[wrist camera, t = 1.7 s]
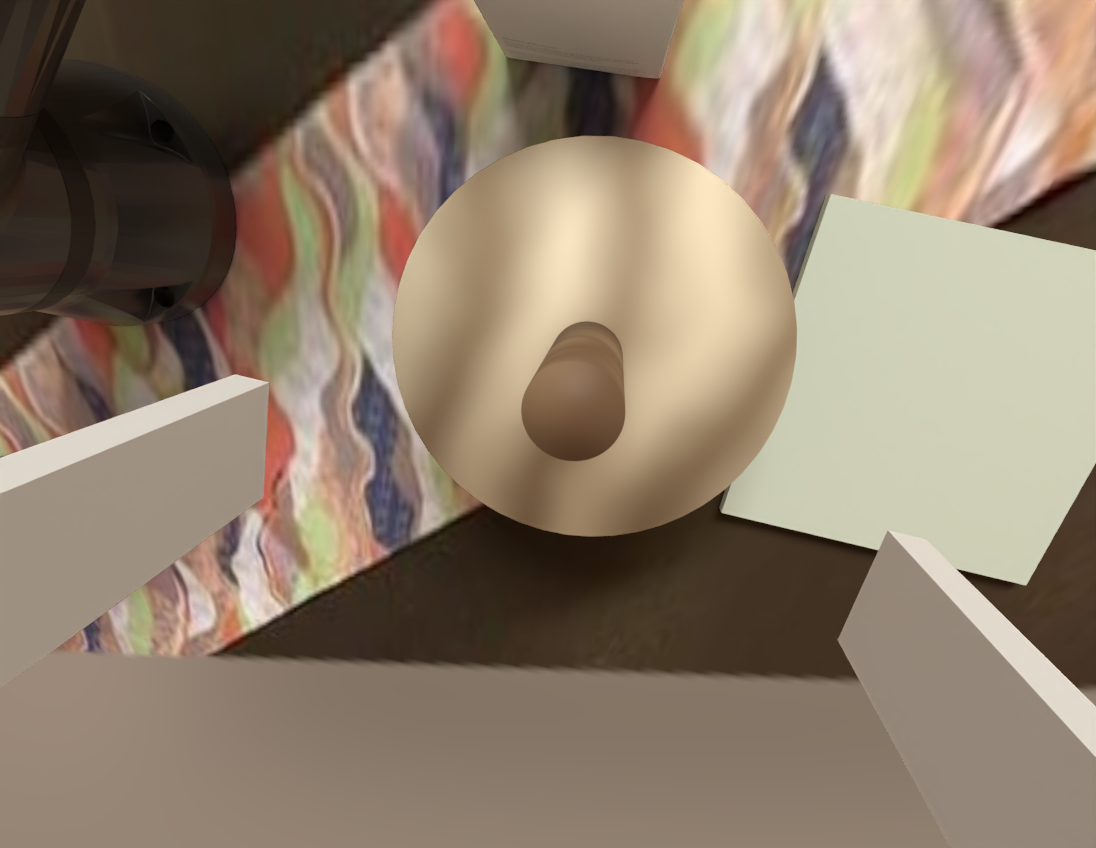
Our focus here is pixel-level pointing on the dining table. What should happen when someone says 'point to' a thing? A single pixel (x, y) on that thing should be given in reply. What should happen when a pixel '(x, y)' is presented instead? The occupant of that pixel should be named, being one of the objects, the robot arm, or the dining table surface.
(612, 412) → the lid
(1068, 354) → the mat
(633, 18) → the supplement box
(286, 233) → the dining table surface
